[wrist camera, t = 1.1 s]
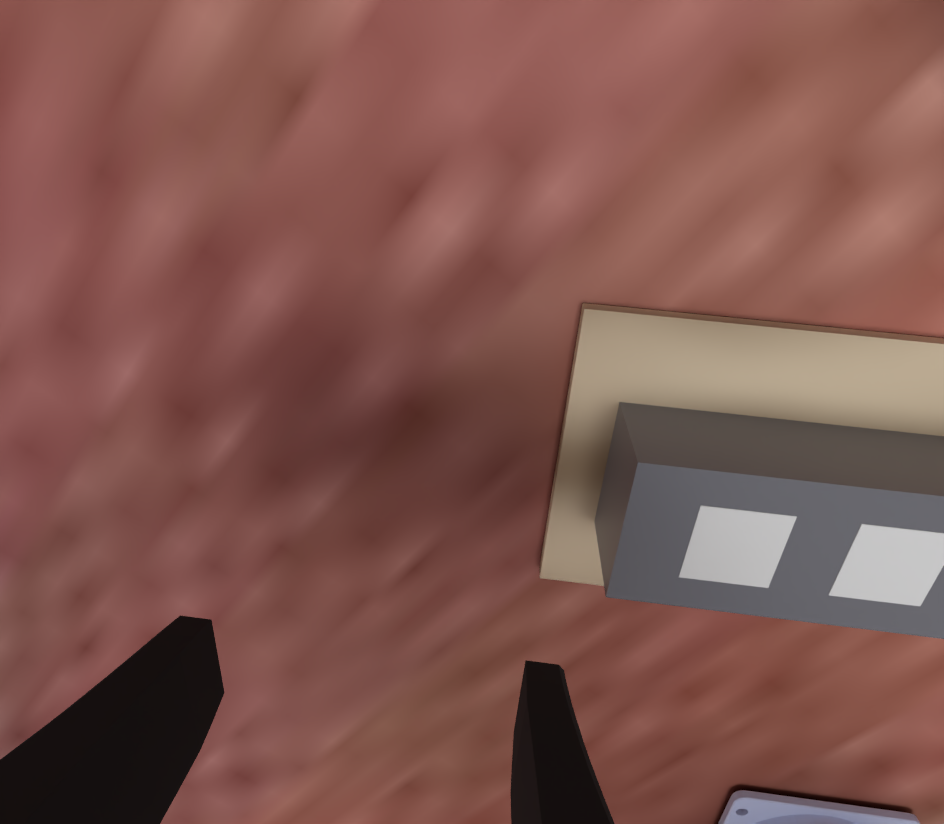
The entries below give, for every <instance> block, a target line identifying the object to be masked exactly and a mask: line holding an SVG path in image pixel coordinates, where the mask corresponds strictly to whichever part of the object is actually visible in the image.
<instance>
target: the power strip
mask: <svg viewBox="0 0 944 824" xmlns="http://www.w3.org/2000/svg"><path fill="white" fill-rule="evenodd" d="M594 522H595V529H596V535H597V542H598V548H599V555H600V562H601V568H602V575H603V581H604V588H605V595H606V597H609V598H617V599H625V600H633V601H641V602H649V603H657V604H665V605H674V606H682V607H690V608H698V609H706V610H714V611H722V612H730V613H738V614H747V615H755V616H763V617H771V618H779V619H787V620H795V621H803V622H811V623H820V624H828V625H836V626H844V627H852V628H860V629H868V630H876V631H884V632H893V633H901V634H909V635H917V636H925V637H933V638H941V639H944V436H936V435H927V434H917V433H908V432H899V431H889V430H880V429H870V428H861V427H851V426H842V425H833V424H823V423H814V422H804V421H795V420H786V419H776V418H767V417H757V416H748V415H738V414H729V413H720V412H710V411H701V410H691V409H682V408H673V407H663V406H654V405H644V404H635V403H625V402H619V406H618V411H617V416H616V421H615V426H614V430H613V435H612V440H611V445H610V449H609V454H608V459H607V464H606V469H605V473H604V478H603V483H602V488H601V492H600V497H599V502H598V507H597V511H596V516H595V521H594Z"/></svg>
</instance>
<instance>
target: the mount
mask: <svg viewBox="0 0 944 824" xmlns="http://www.w3.org/2000/svg"><path fill="white" fill-rule="evenodd" d="M619 402H625V403H635V404H644V405H654V406H663V407H673V408H682V409H691V410H701V411H710V412H720V413H729V414H738V415H748V416H757V417H767V418H776V419H786V420H795V421H804V422H814V423H823V424H833V425H842V426H851V427H861V428H870V429H880V430H889V431H899V432H908V433H917V434H927V435H936V436H944V338H936V337H926V336H916V335H906V334H896V333H885V332H875V331H865V330H855V329H844V328H834V327H824V326H814V325H804V324H793V323H783V322H773V321H763V320H753V319H742V318H732V317H722V316H712V315H701V314H691V313H681V312H671V311H661V310H650V309H640V308H630V307H620V306H610V305H599V304H589V303H583V304H582V310H581V316H580V323H579V329H578V335H577V341H576V347H575V353H574V359H573V365H572V371H571V377H570V384H569V390H568V396H567V402H566V408H565V414H564V420H563V426H562V432H561V439H560V445H559V451H558V457H557V463H556V469H555V475H554V481H553V487H552V494H551V500H550V506H549V512H548V518H547V524H546V530H545V536H544V542H543V549H542V555H541V561H540V578H544V579H552V580H560V581H568V582H576V583H585V584H593V585H601V586H604V581H603V575H602V568H601V562H600V555H599V548H598V542H597V535H596V529H595V522H594V521H595V516H596V511H597V507H598V502H599V497H600V492H601V488H602V483H603V478H604V473H605V469H606V464H607V459H608V454H609V449H610V445H611V440H612V435H613V430H614V426H615V421H616V416H617V411H618V406H619Z"/></svg>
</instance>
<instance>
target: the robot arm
mask: <svg viewBox="0 0 944 824" xmlns="http://www.w3.org/2000/svg"><path fill="white" fill-rule="evenodd" d="M223 694H224V688H223V682H222V677H221V671H220V666H219V660H218V654H217V649H216V643H215V637H214V632H213V626H212V621H211V620H209V619H202V618H194V617H186V616H179V617H178V618H177V619H175V620H174V621H173V622H172V623H171V624H169V625H168V626H167V627H166V628H164V629H163V630H162V631H161V632H160V633H158V634H157V635H156V636H155V637H154V638H152V639H151V640H150V641H149V642H148V643H147V644H145V645H144V646H143V647H142V648H141V649H139V650H138V651H137V652H136V653H135V654H133V655H132V656H131V657H130V658H129V659H127V660H126V661H125V662H124V663H123V664H121V665H120V666H119V667H118V668H117V669H115V670H114V671H113V672H112V673H111V674H109V675H108V676H107V677H106V678H105V679H103V680H102V681H101V682H100V683H98V684H97V685H96V686H95V687H93V688H92V689H91V690H90V691H88V692H87V693H86V694H85V695H84V696H82V697H81V698H80V699H79V700H77V701H76V702H75V703H74V704H72V705H71V706H70V707H69V708H67V709H66V710H65V711H64V712H62V713H61V714H60V715H59V716H57V717H56V718H55V719H53V720H52V721H51V722H50V723H48V724H47V725H46V726H44V727H43V728H42V729H40V730H39V731H38V732H36V733H35V734H34V735H32V736H31V737H30V738H28V739H27V740H26V741H24V742H23V743H22V744H20V745H19V746H18V747H16V748H15V749H14V750H12V751H11V752H10V753H8V754H7V755H6V756H5V757H3V758H2V759H0V824H160V823H161V821H162V819H163V817H164V816H165V814H166V812H167V810H168V808H169V806H170V805H171V803H172V801H173V799H174V797H175V796H176V794H177V792H178V790H179V788H180V786H181V785H182V783H183V781H184V779H185V777H186V775H187V774H188V772H189V770H190V768H191V766H192V764H193V763H194V761H195V759H196V757H197V755H198V753H199V751H200V749H201V747H202V745H203V743H204V740H205V738H206V736H207V733H208V731H209V729H210V726H211V724H212V722H213V719H214V717H215V714H216V712H217V709H218V707H219V704H220V702H221V699H222V697H223ZM511 820H512V824H614V821H613V819H612V816H611V814H610V811H609V809H608V807H607V804H606V802H605V799H604V796H603V794H602V791H601V789H600V786H599V783H598V781H597V778H596V775H595V773H594V770H593V767H592V765H591V762H590V759H589V756H588V754H587V751H586V748H585V745H584V742H583V739H582V736H581V733H580V729H579V726H578V723H577V720H576V717H575V713H574V710H573V707H572V703H571V699H570V696H569V691H568V687H567V683H566V679H565V674H564V670H563V669H562V668H561V667H560V666H559V665H556V664H549V663H541V662H533V661H526V662H525V668H524V674H523V680H522V686H521V692H520V698H519V704H518V710H517V716H516V722H515V728H514V739H513V757H512V776H511ZM718 824H920V823H919V821H918V819H917V817H916V816H915V815H913V814H911V813H906V812H899V811H892V810H885V809H877V808H870V807H863V806H856V805H848V804H841V803H834V802H827V801H820V800H812V799H805V798H798V797H791V796H783V795H776V794H769V793H762V792H755V791H747V790H739V791H736V792H734V793H733V794H732V795H731V797H730V799H729V801H728V804H727V806H726V808H725V810H724V812H723V814H722V816H721V819H720V821H719V823H718Z"/></svg>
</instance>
